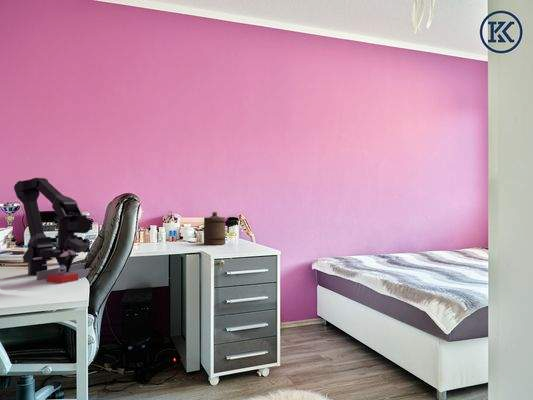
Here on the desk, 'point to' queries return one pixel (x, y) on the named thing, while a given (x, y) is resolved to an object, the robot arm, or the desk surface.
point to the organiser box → (73, 269)
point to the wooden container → (214, 230)
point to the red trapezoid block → (62, 276)
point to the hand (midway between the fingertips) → (66, 273)
